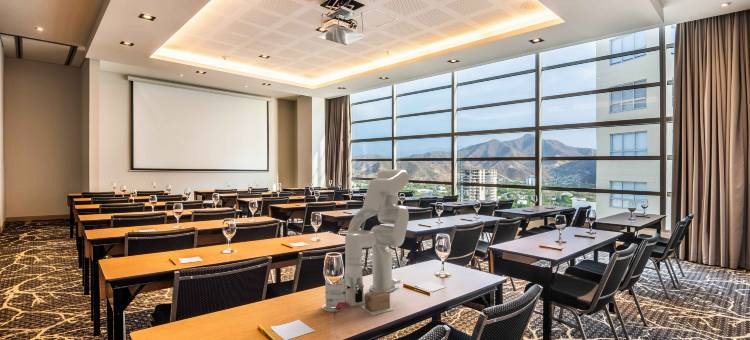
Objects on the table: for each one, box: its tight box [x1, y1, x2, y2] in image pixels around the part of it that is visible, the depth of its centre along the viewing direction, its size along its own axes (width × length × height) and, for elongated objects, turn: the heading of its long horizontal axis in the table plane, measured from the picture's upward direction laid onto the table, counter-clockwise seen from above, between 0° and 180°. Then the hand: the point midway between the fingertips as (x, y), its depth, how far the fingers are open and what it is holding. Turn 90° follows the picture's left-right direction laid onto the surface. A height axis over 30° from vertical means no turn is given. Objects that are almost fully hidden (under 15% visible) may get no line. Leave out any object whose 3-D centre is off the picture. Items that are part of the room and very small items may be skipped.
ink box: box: [324, 278, 347, 309], centre depth 174 cm, size 8×5×12 cm, turn 89°
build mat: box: [361, 305, 394, 316], centre depth 170 cm, size 10×10×1 cm
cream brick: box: [346, 288, 365, 307], centre depth 178 cm, size 6×6×6 cm
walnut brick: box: [364, 290, 391, 312], centre depth 170 cm, size 6×9×6 cm, turn 121°
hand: (354, 298), depth 178 cm, fingers open, 9 cm apart
